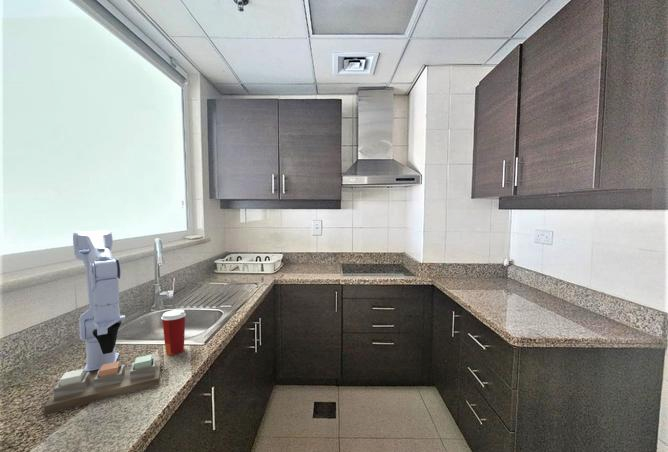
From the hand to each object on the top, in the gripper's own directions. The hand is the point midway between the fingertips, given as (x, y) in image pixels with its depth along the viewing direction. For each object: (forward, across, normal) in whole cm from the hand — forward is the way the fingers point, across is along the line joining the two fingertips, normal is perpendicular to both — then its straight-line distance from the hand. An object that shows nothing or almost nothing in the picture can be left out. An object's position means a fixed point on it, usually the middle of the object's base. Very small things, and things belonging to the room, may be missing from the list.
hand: (108, 350), depth 82 cm
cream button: (+7, 0, +8) cm, 10 cm away
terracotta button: (+7, 0, 0) cm, 7 cm away
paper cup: (+11, +15, -16) cm, 24 cm away
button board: (+10, 0, 0) cm, 10 cm away
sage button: (+7, 0, -8) cm, 11 cm away
